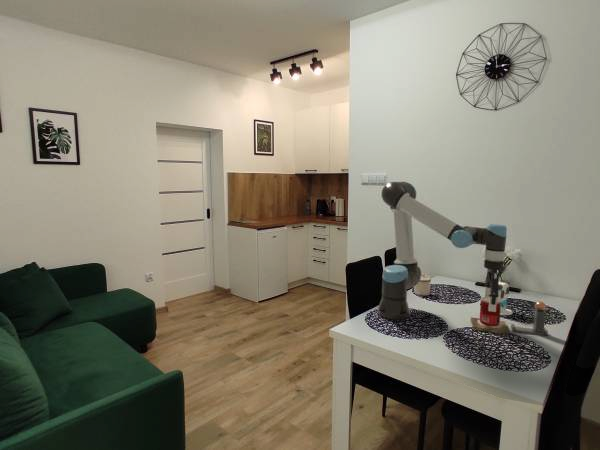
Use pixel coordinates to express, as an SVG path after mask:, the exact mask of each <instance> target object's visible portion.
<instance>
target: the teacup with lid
mask: <svg viewBox="0 0 600 450" xmlns="http://www.w3.org/2000/svg"><path fill="white" fill-rule="evenodd" d="M431 279H432V278H430V276H427V275H425V273H422V276H421V279H420V281H419V282H418V283H417V284H416V285H415V286H413V287H412V288H413V289H414V294H415V293H416V294H415V295H418V296H430V294H431V282H432V281H431Z"/></svg>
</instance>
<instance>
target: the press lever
mask: <svg viewBox="0 0 600 450" xmlns="http://www.w3.org/2000/svg"><path fill="white" fill-rule="evenodd" d="M546 308H547V305H546V303H544V301H537V302H535V304H534V313H533V324H532V329H534V330H535V332H542V333H544V328H545V322H546V311H545V310H546Z"/></svg>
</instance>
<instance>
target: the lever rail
mask: <svg viewBox="0 0 600 450" xmlns="http://www.w3.org/2000/svg"><path fill="white" fill-rule="evenodd" d="M510 329H511V331H512V332H514V333H520V334H521V333H522V334H529V335H536V336H544V337H548V336H549V335H548V332H549V331H548V330H547V329H546V327H544V333H542V332H535V330H534V329H533V328H529V327H522V326H516V325H515V324H514V323H511V325H510Z"/></svg>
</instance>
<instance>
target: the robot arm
mask: <svg viewBox="0 0 600 450" xmlns="http://www.w3.org/2000/svg"><path fill="white" fill-rule="evenodd" d="M381 198H382V201H383V202H384V203H385V204H386V205H387V206H389V209H390V211H392V212H393V222H394V236H395V237H394V238H395V250H396V251H395V252H396V259H395V260H394V261H393V264H392V265H387V266H385V267H384V268H383V271H382V282H381V283H382V285H381V300H380V301H379V302H380V303H379V305H378V307H377V314H378V315H379V316H380V317H381V318H385V319H389V320H394V321H395V320H396V321H400V320H401V321H402V320H407V319H409V317H411V316H410V313H411V312H410V307H409V304H408V300H407V296H408V290H409V289H411V288H413V286H414V287H415V285H416V284H417V283H418V282H419V281H420V279H421V276H422V274H423V273H422V269H421V268H420V267H419V266H418V260H417V259H416V258H415V251H414V239H413V238H414V237H413V236H414V235H413V220H412V218H413V219H415V220H416V221H418V222H419V223H421V224H423V225H424V226H426V227H428V228H429V229H431V230H432V231H434V232H435V233H437V234H439V235H441V236H442V237H444V238H445V239H446V240H447V239H448V240H449V241H450V242H451V243H452V245H453V246H454V247H456V248H457V249H464V248H465V249H466V248H468V247H470V246H471V245H479V246H480V245H481V246H485V250H484V258H485V259H484V262H483V267H484V269H487V270H486V271H487V272H486V275H485V276H486V277H485V280H484V281H485V282H484V285H485V286H484V287H485V288H484V297H490V299H489V310H488V311H492V312H496V304H497V297H498V296H499V295H498V282H499V277H500V274H499V273H498V271H503V269H504V259H505V256H506V255H507V253H506V252H505V251H506V243H507V226H506V225H504V224H497V223H495V224H494V223H493V224H492V223H491V224H490V223H489V224H488V225H487V227H476V226H475V227H474V226H469V225H465V226H463V225H459V224H458V223H456V222H454V221H452V220H451V219H449V218H448V217H445V216H444V215H442V214H441V213H439V212H437V211H436V210H434V209H432V208H431V207H428V206H427V205H425V204H423V203H422V202H420V201H419V200H417V199H416V198H417V190H416V188H415V186H414V185H413V184H411V182H410V183H409V182H406V181H391V182H390V181H389V182H388V183H386V184H385V185H384V186H383V188H382V190H381ZM493 293H494V294H493Z"/></svg>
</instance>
